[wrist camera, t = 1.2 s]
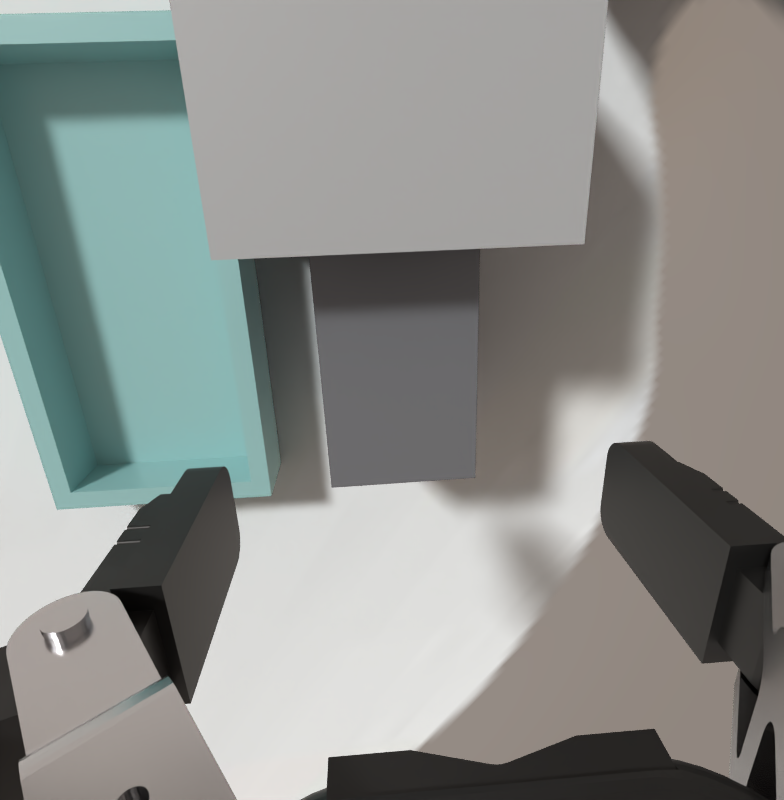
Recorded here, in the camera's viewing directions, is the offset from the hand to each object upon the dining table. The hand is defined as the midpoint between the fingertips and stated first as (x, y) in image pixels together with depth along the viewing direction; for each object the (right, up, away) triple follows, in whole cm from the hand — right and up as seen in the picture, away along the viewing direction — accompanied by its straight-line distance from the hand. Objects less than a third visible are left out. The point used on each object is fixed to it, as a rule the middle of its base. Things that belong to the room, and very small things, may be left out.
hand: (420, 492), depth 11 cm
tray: (-11, +7, +12) cm, 18 cm away
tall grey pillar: (-1, +8, +12) cm, 14 cm away
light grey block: (-1, +13, +10) cm, 16 cm away
